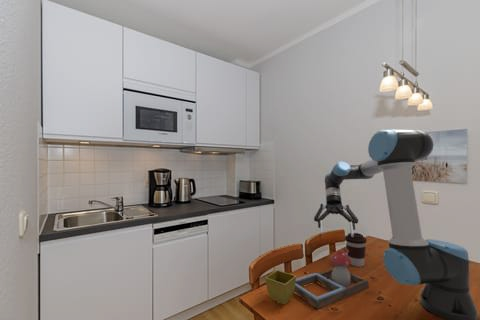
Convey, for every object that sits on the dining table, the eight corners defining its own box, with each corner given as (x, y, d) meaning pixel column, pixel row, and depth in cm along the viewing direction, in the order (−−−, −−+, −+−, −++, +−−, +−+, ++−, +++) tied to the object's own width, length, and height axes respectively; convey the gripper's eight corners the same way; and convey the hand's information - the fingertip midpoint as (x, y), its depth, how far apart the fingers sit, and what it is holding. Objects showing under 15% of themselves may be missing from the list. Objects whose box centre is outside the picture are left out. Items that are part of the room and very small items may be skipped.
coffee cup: (371, 268, 117) (370, 237, 117) (350, 268, 117) (349, 237, 117) (361, 259, 127) (360, 231, 127) (342, 260, 127) (341, 231, 127)
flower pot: (277, 291, 97) (276, 269, 97) (297, 298, 92) (296, 275, 92) (265, 301, 90) (265, 277, 91) (286, 310, 85) (285, 284, 85)
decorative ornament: (349, 281, 104) (348, 246, 105) (355, 289, 98) (354, 252, 98) (327, 281, 105) (326, 246, 105) (332, 288, 98) (331, 252, 99)
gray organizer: (368, 287, 98) (368, 280, 99) (317, 309, 85) (317, 300, 85) (338, 273, 112) (337, 267, 112) (289, 289, 98) (289, 282, 98)
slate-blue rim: (345, 289, 92) (345, 288, 92) (317, 301, 85) (317, 299, 85) (316, 273, 105) (316, 272, 105) (289, 282, 98) (289, 281, 98)
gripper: (358, 202, 126) (365, 240, 111) (309, 201, 133) (309, 236, 118) (360, 194, 121) (367, 232, 106) (309, 193, 128) (309, 228, 113)
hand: (336, 234), depth 112 cm, fingers open, 13 cm apart
